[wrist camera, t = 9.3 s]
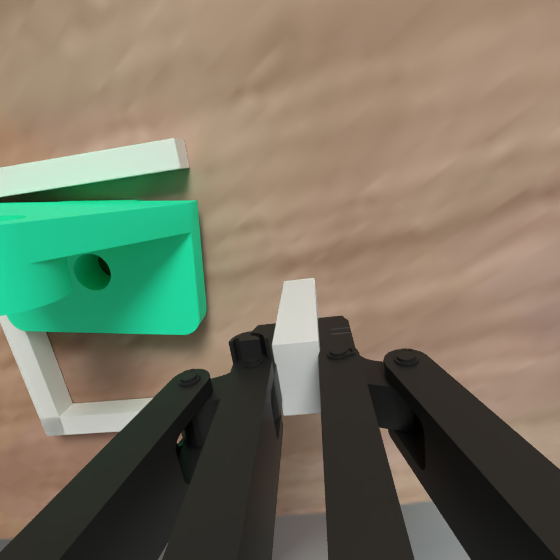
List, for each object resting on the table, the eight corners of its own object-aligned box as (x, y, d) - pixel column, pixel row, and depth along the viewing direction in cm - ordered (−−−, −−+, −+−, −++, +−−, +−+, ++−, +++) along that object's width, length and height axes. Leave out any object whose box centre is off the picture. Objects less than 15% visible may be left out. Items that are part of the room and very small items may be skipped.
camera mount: (41, 314, 24) (-138, 412, 15) (14, 200, 22) (-220, 229, 12) (212, 317, 23) (142, 425, 14) (203, 198, 21) (109, 227, 11)
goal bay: (184, 139, 20) (173, 138, 19) (240, 409, 25) (236, 423, 24) (-36, 177, 22) (-60, 177, 20) (60, 421, 27) (47, 436, 26)
